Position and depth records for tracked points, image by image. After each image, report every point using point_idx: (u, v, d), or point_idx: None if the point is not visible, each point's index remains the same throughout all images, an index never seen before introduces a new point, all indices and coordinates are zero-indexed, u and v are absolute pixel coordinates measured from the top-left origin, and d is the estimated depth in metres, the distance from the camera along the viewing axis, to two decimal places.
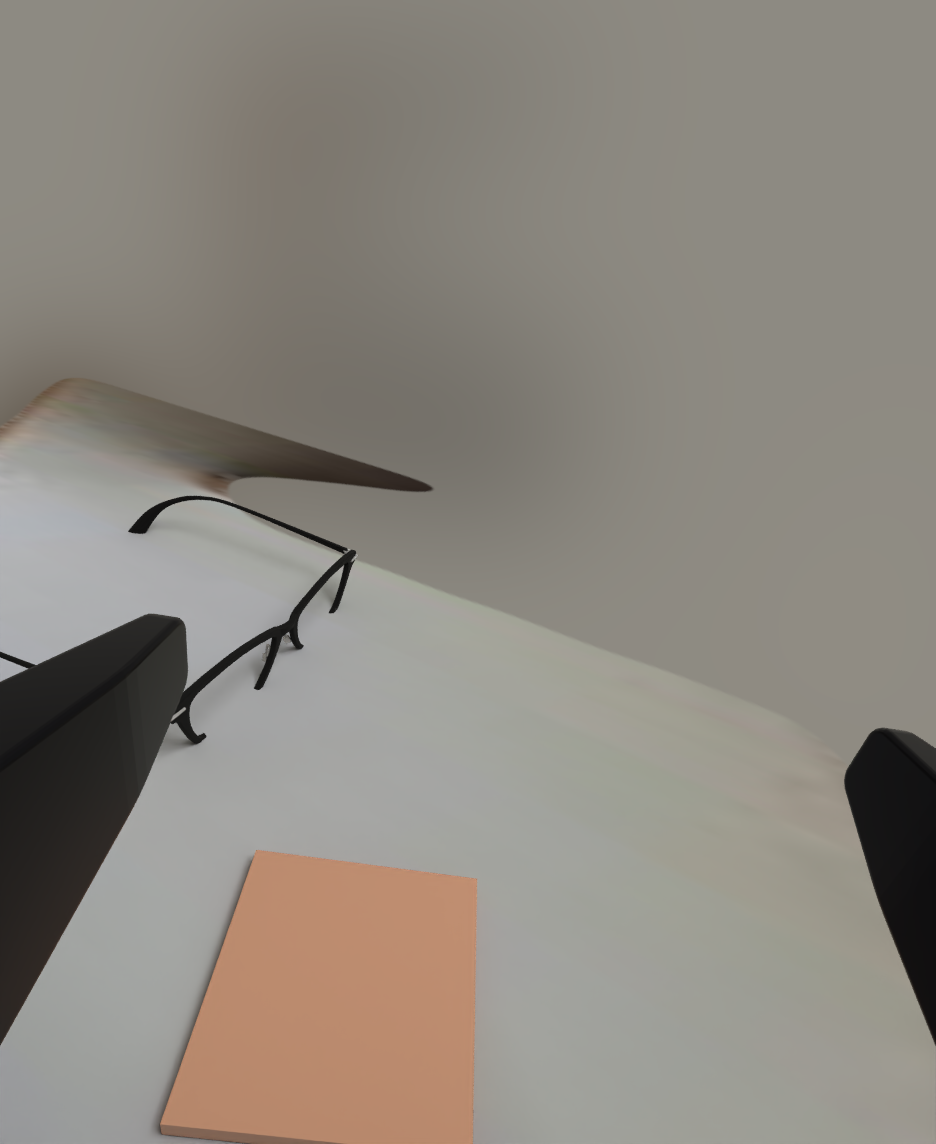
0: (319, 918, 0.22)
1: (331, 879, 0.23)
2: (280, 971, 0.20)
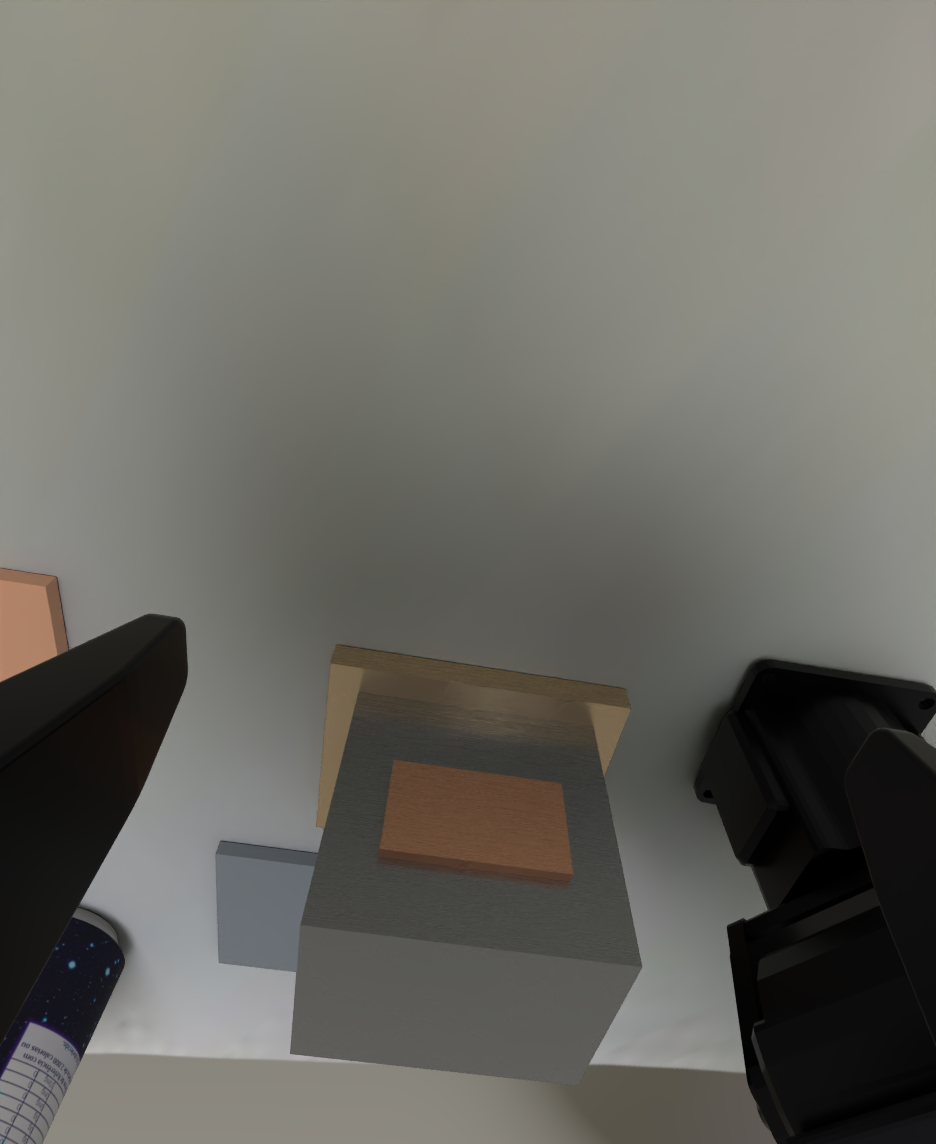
0: None
1: None
2: None
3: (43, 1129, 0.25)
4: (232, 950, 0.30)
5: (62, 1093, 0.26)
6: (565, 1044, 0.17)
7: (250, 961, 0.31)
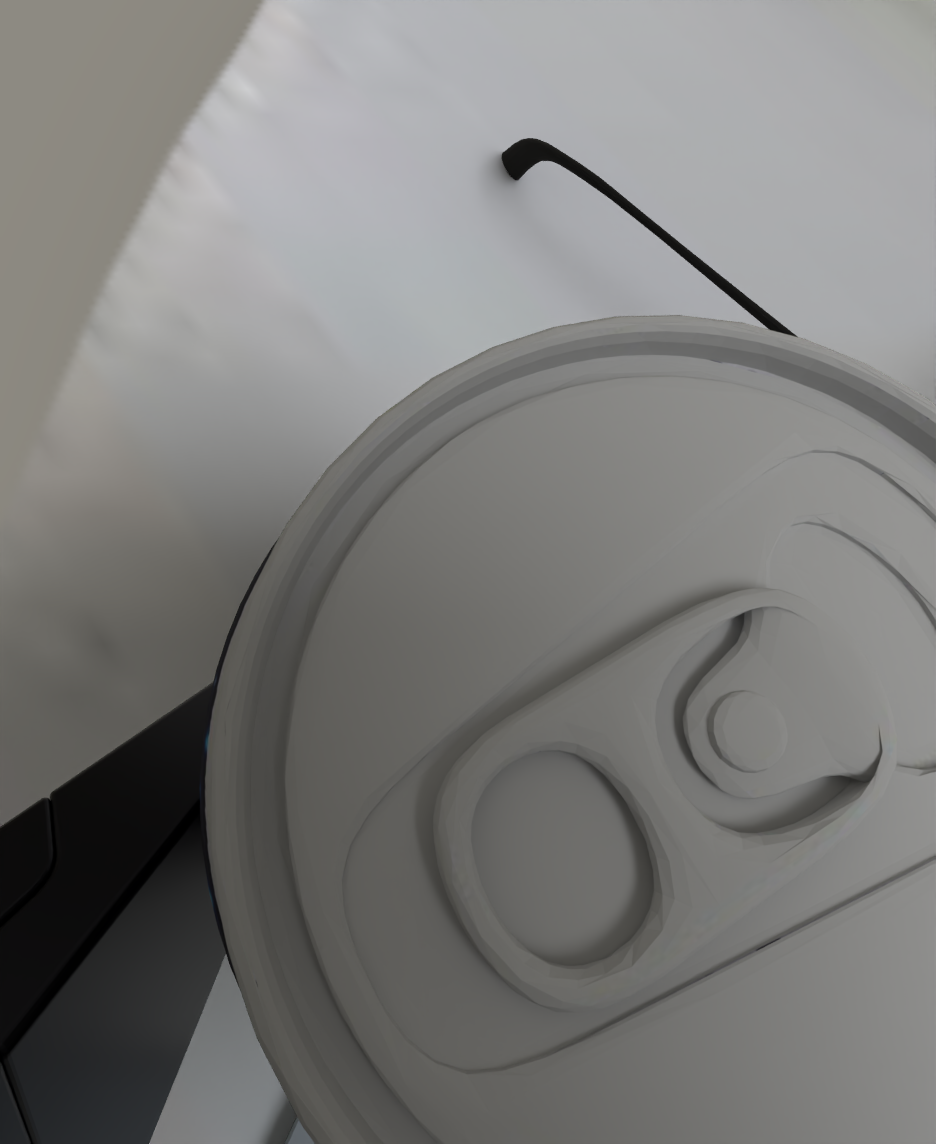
0: None
1: None
2: None
3: None
4: None
5: None
6: None
7: None
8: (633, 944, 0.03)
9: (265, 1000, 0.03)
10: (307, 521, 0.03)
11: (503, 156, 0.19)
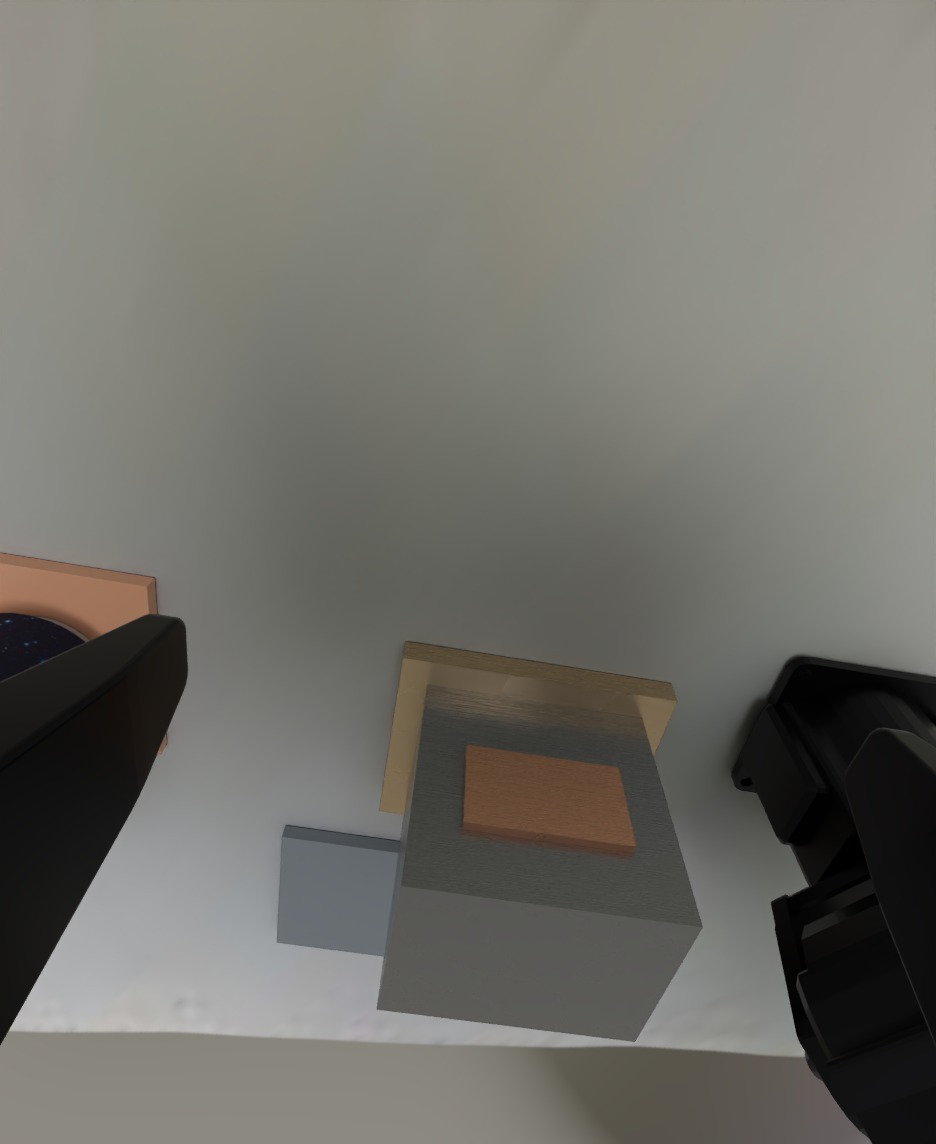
0: None
1: None
2: None
3: None
4: (290, 930, 0.32)
5: None
6: (627, 1001, 0.19)
7: (306, 941, 0.33)
8: None
9: None
10: None
11: None
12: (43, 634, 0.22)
